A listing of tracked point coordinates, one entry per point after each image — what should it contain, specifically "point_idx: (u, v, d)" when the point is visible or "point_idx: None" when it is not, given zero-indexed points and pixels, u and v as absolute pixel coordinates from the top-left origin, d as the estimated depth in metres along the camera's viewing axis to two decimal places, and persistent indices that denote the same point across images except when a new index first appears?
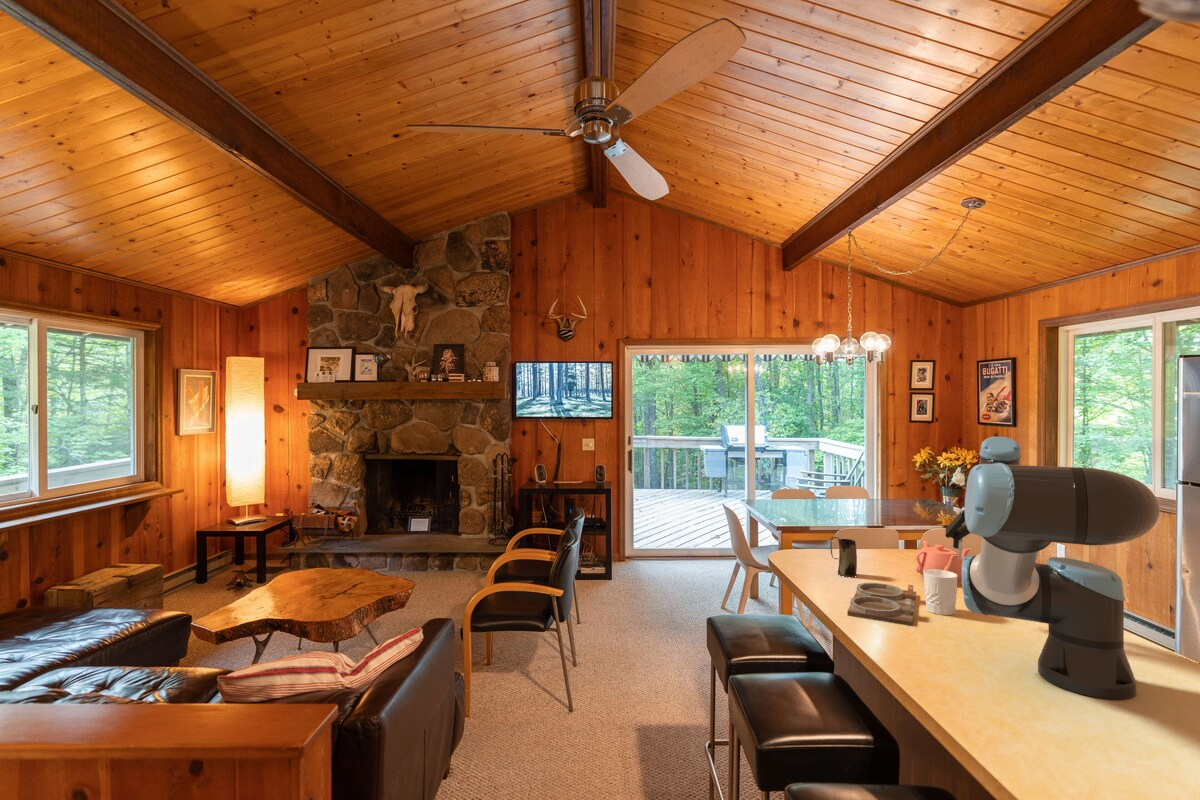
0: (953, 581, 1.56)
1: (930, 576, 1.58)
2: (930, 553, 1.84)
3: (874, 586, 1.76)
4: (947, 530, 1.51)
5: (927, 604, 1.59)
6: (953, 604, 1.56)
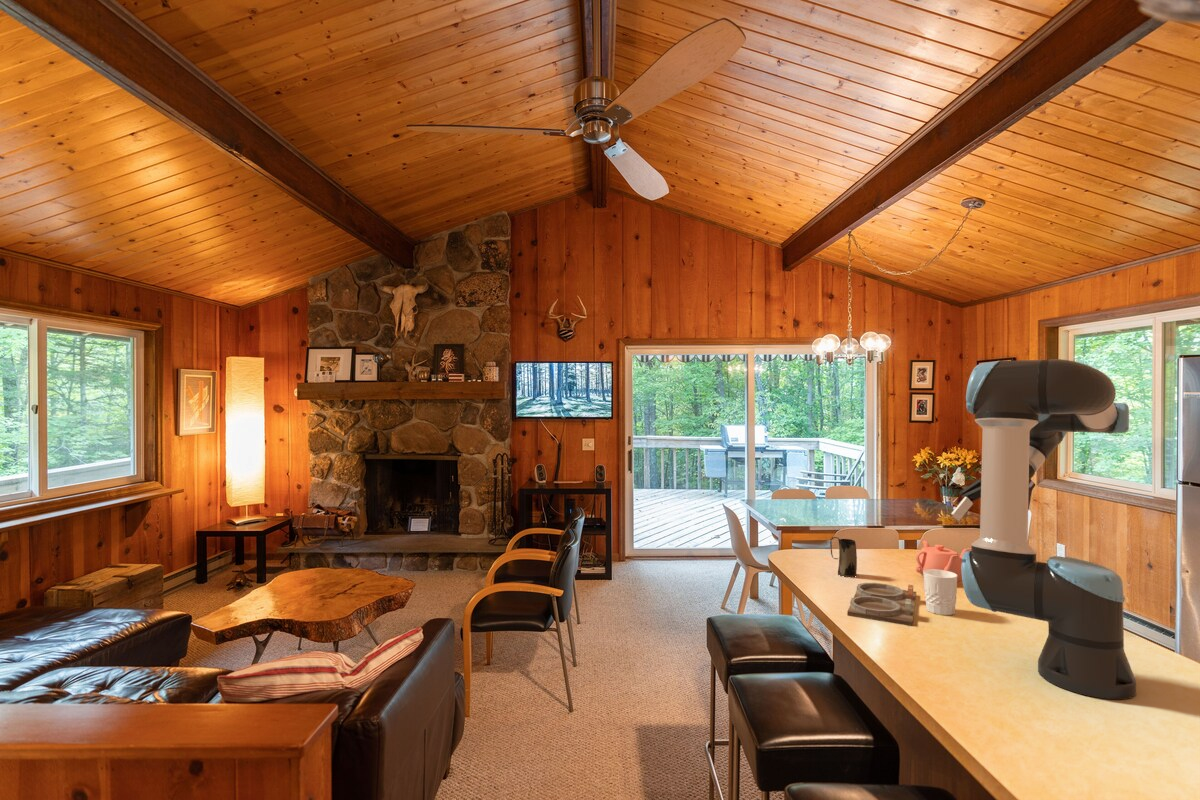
0: (953, 581, 1.56)
1: (930, 576, 1.58)
2: (930, 553, 1.84)
3: (874, 586, 1.76)
4: None
5: (927, 604, 1.59)
6: (953, 604, 1.56)
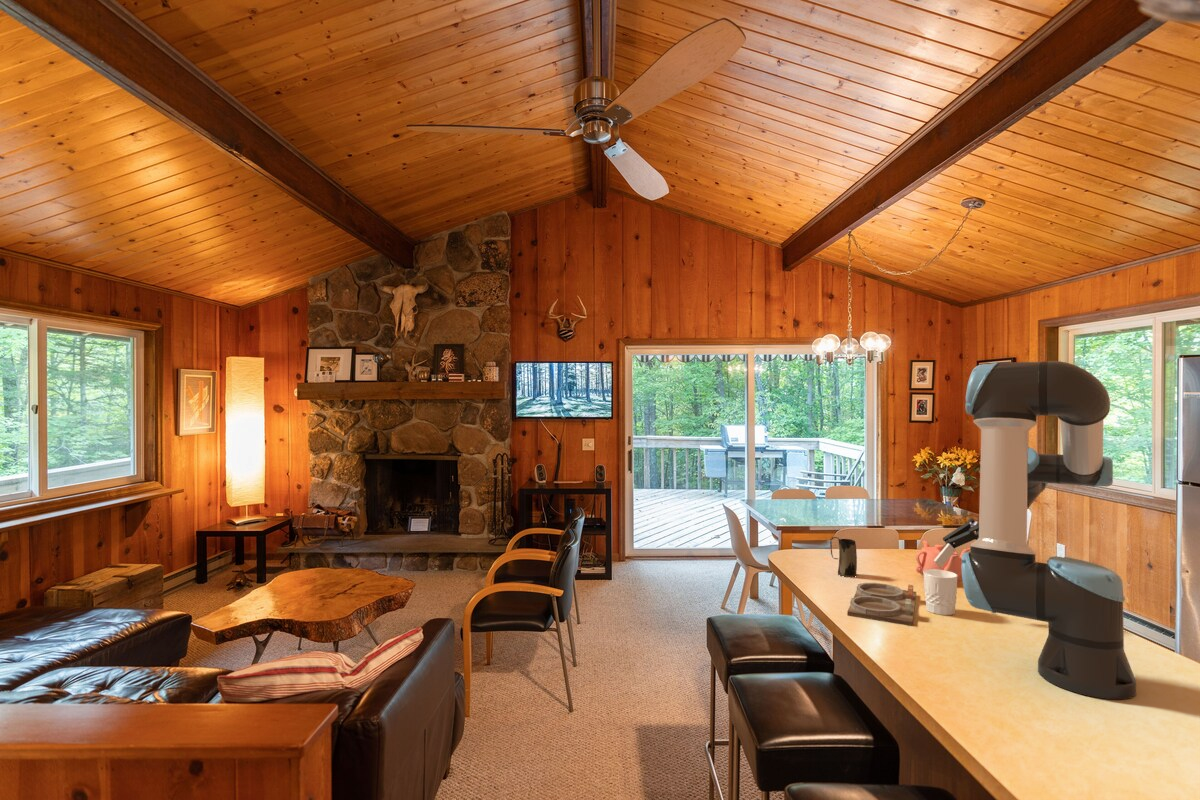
0: (953, 581, 1.56)
1: (930, 576, 1.58)
2: (930, 553, 1.84)
3: (874, 586, 1.76)
4: None
5: (927, 604, 1.59)
6: (953, 604, 1.56)
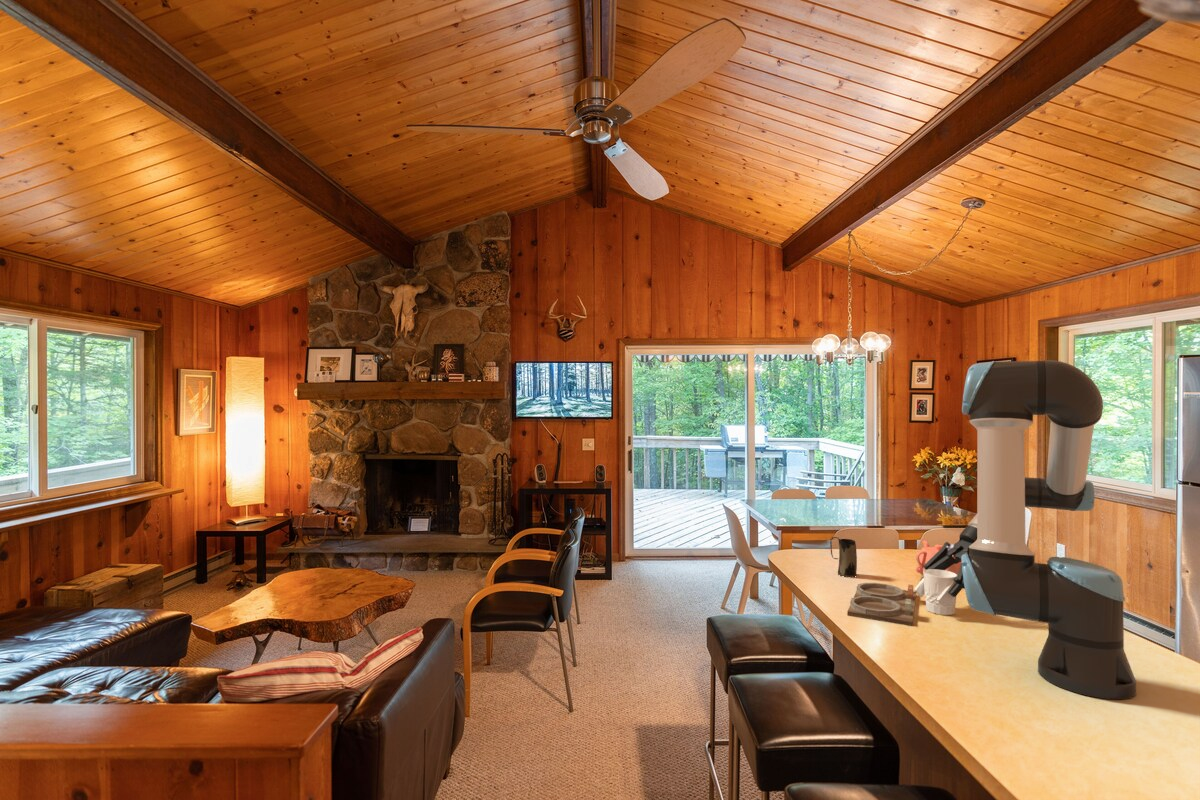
0: None
1: (930, 576, 1.58)
2: (930, 553, 1.84)
3: (874, 586, 1.76)
4: None
5: (927, 604, 1.59)
6: (953, 604, 1.56)
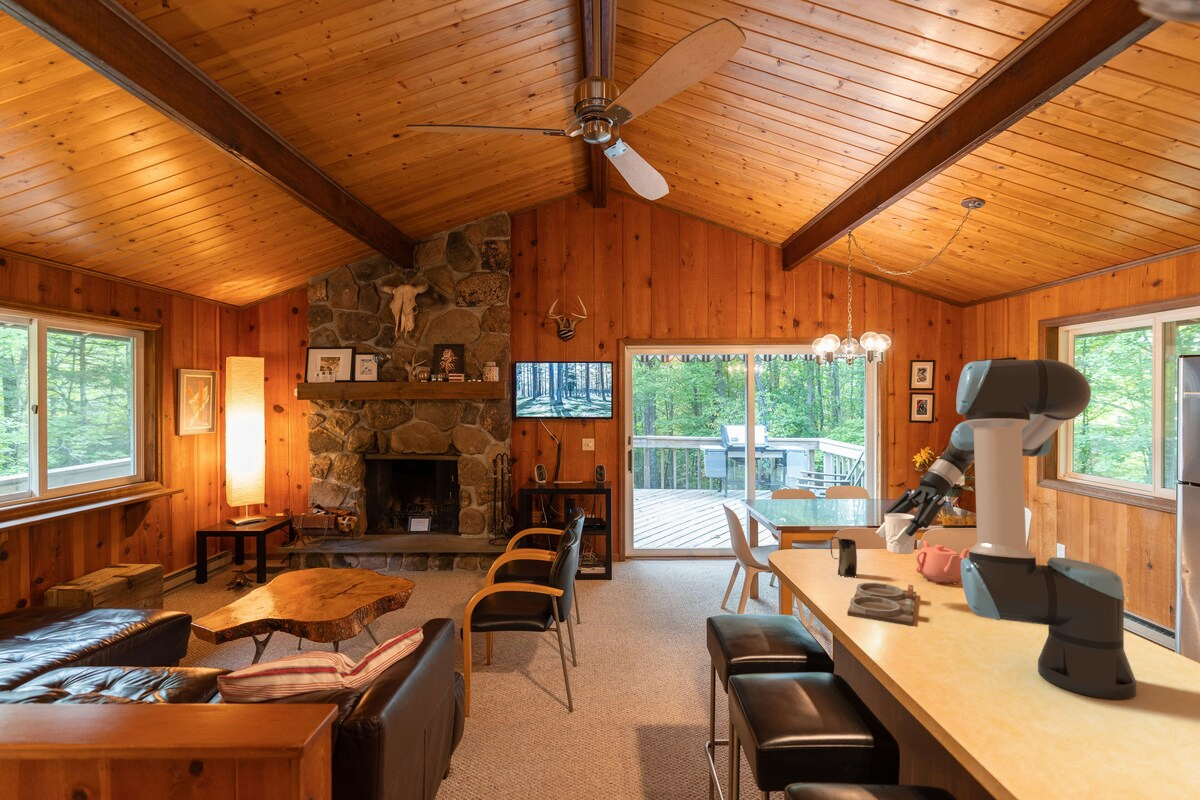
0: None
1: (889, 518, 1.67)
2: (930, 553, 1.84)
3: (874, 586, 1.76)
4: None
5: (887, 545, 1.69)
6: (911, 544, 1.65)
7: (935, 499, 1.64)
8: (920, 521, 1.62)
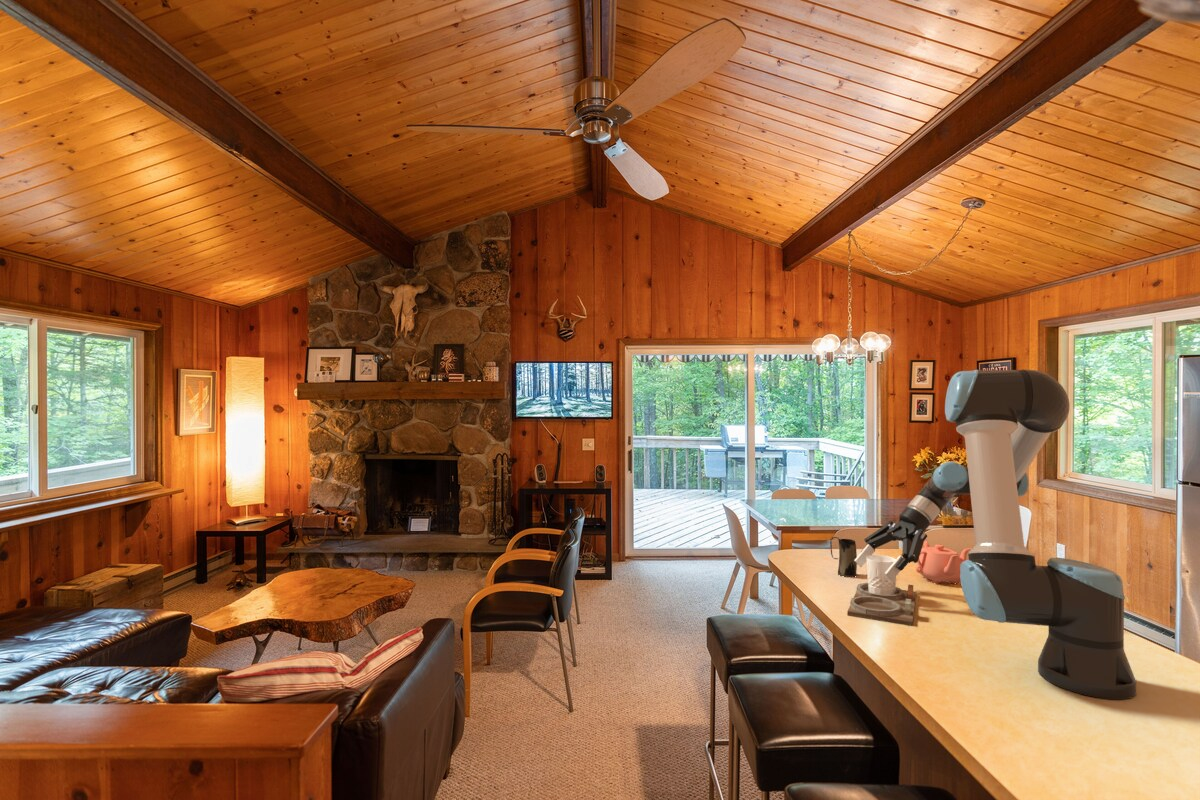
0: None
1: (871, 561, 1.69)
2: (930, 553, 1.84)
3: None
4: None
5: (869, 587, 1.71)
6: (892, 587, 1.67)
7: (917, 533, 1.66)
8: (910, 555, 1.62)
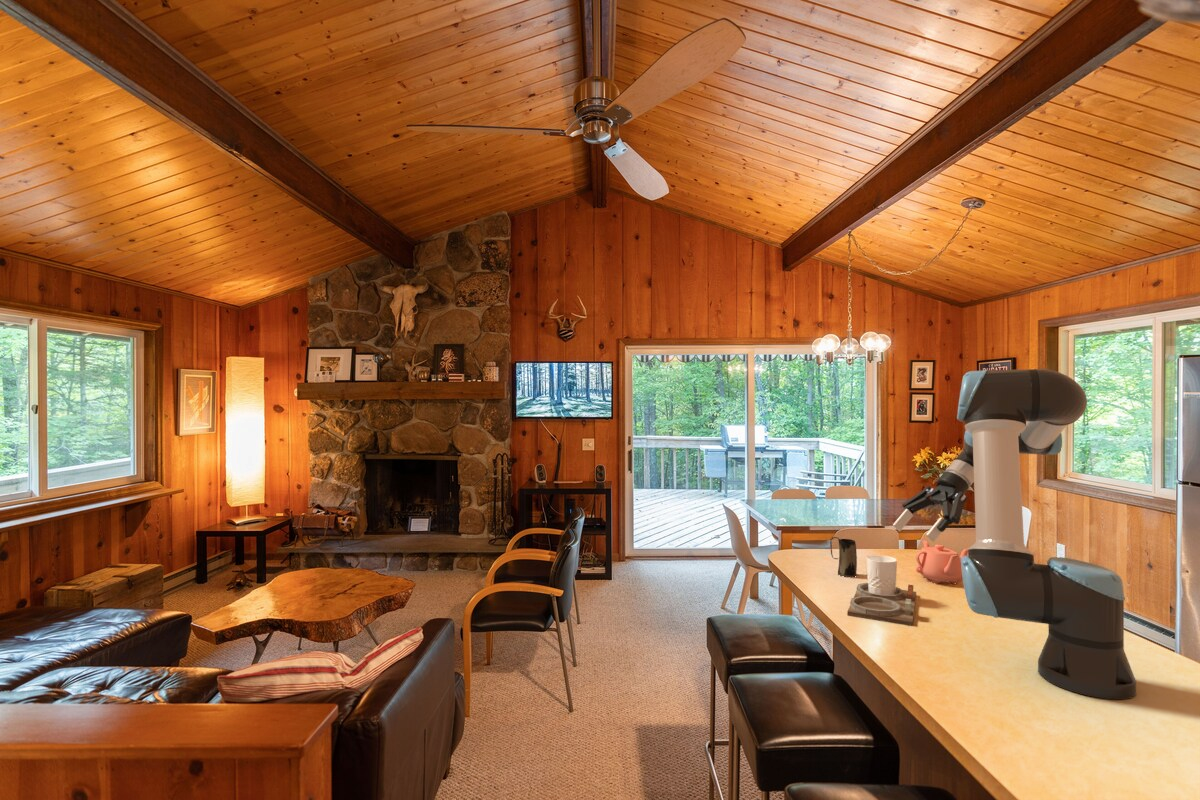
0: (892, 565, 1.67)
1: (871, 561, 1.69)
2: (930, 553, 1.84)
3: None
4: None
5: (869, 587, 1.71)
6: (892, 587, 1.67)
7: (957, 496, 1.69)
8: (952, 516, 1.64)
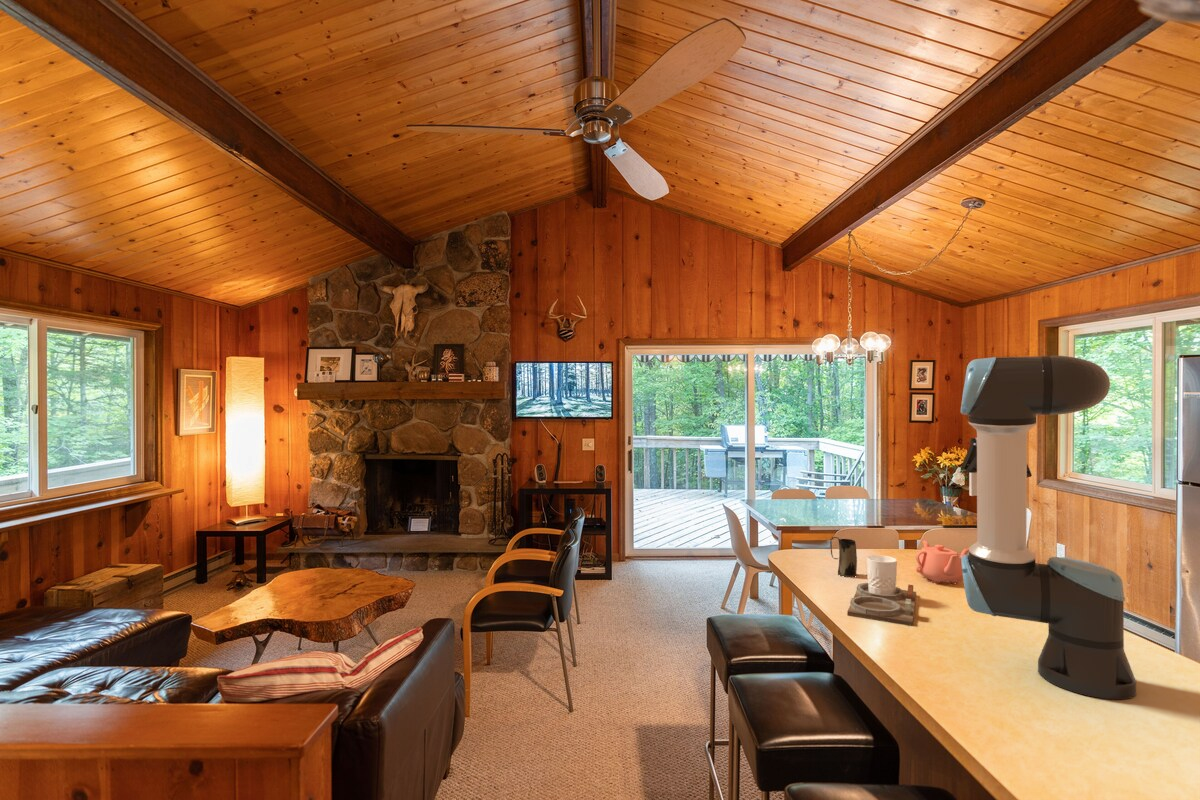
0: (892, 565, 1.67)
1: (871, 561, 1.69)
2: (930, 553, 1.84)
3: None
4: None
5: (869, 587, 1.70)
6: (892, 587, 1.67)
7: None
8: None
